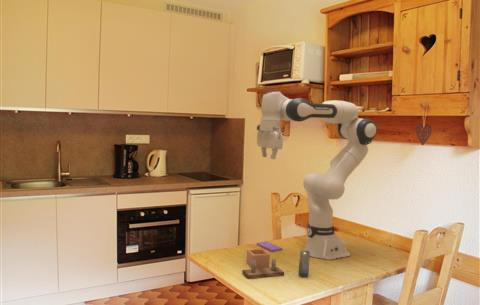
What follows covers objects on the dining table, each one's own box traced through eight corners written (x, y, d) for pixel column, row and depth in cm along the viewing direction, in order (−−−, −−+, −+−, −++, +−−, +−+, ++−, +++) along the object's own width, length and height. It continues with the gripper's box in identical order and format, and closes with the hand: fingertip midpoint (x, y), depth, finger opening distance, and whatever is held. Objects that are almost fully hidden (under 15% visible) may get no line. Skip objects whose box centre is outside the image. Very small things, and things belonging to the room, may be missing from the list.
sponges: (266, 244, 209) (267, 240, 209) (282, 251, 198) (282, 247, 198) (256, 246, 205) (256, 242, 205) (271, 253, 194) (271, 249, 194)
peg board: (277, 270, 170) (278, 256, 170) (283, 275, 164) (284, 261, 164) (242, 273, 164) (243, 259, 164) (247, 279, 159) (248, 264, 158)
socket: (261, 261, 180) (262, 248, 179) (269, 267, 173) (269, 254, 172) (246, 263, 177) (246, 249, 177) (252, 269, 170) (253, 255, 170)
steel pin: (305, 273, 168) (306, 250, 167) (310, 277, 164) (311, 253, 164) (296, 274, 167) (298, 250, 166) (301, 278, 163) (303, 253, 162)
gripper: (287, 128, 171) (285, 160, 172) (267, 127, 190) (265, 156, 191) (273, 127, 169) (272, 160, 170) (255, 126, 188) (253, 155, 189)
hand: (268, 158), depth 180 cm, fingers open, 8 cm apart
